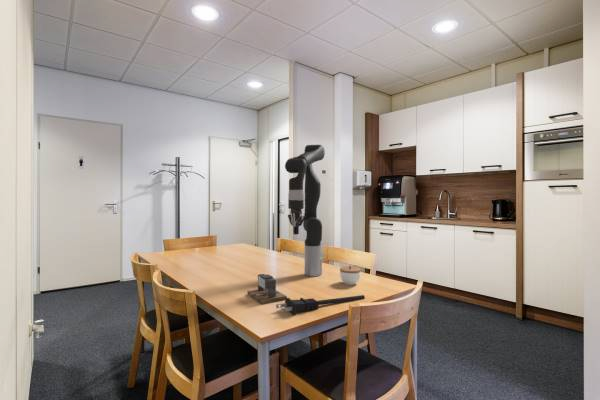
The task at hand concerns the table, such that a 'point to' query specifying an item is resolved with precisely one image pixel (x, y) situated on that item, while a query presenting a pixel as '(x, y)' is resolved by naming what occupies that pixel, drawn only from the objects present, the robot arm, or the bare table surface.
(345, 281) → the lidded jar
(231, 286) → the table surface
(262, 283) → the cutter head
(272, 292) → the cutter stand
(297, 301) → the electrical plug
